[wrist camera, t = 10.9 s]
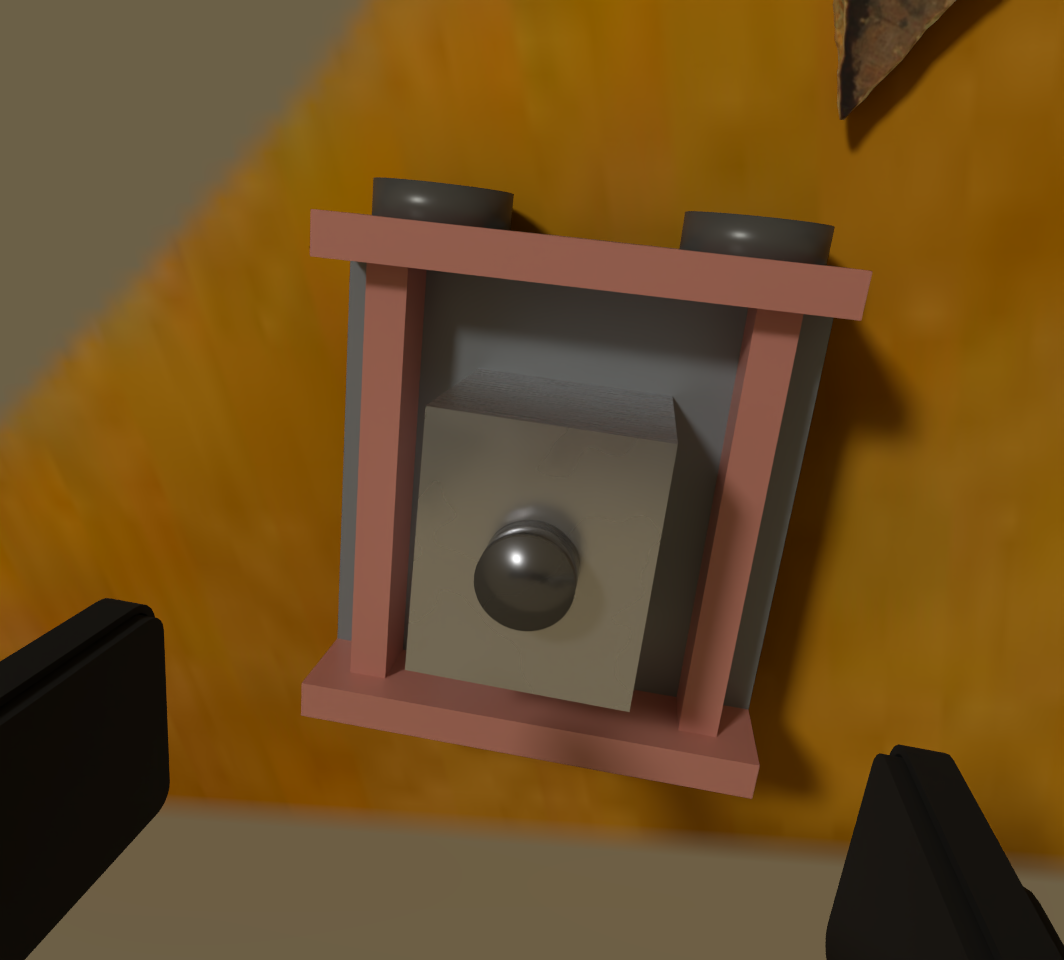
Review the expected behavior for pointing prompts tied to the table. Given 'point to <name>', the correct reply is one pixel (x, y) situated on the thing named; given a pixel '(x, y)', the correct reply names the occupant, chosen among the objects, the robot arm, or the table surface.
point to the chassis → (598, 359)
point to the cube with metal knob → (539, 534)
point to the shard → (876, 41)
